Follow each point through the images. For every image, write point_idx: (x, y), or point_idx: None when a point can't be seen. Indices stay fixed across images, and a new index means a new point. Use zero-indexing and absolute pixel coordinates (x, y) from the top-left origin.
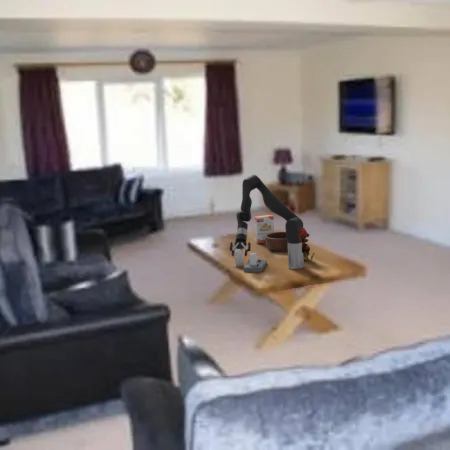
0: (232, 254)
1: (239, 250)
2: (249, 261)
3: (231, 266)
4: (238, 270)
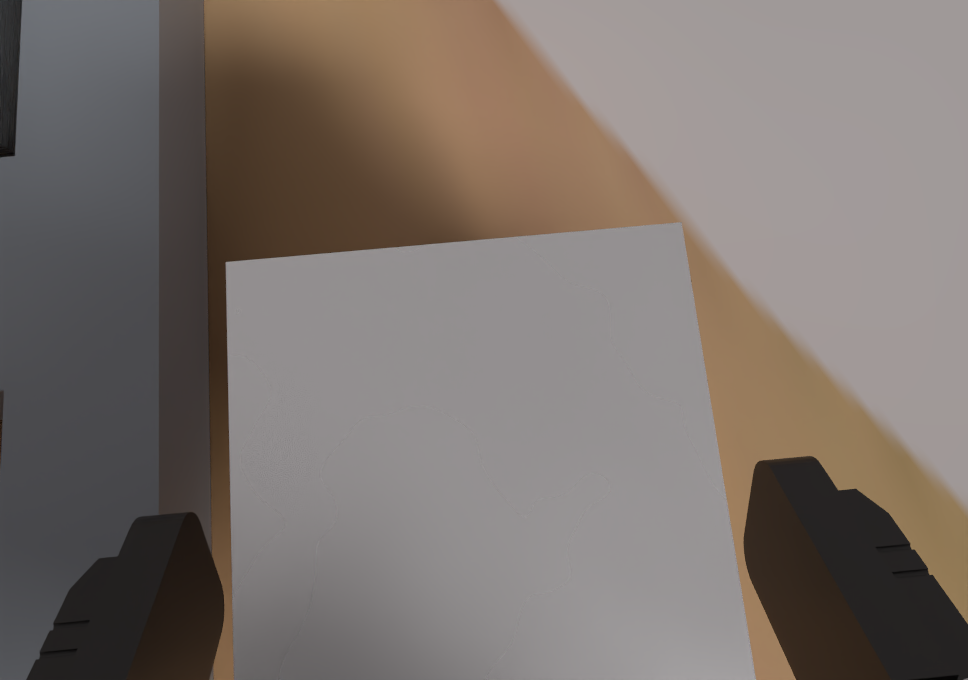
0: (814, 461)
1: (360, 254)
2: (92, 476)
3: None
4: (366, 13)
